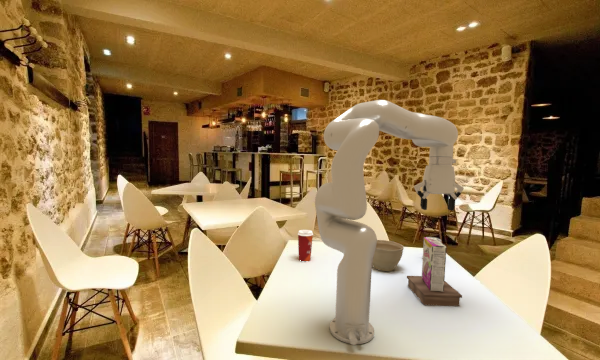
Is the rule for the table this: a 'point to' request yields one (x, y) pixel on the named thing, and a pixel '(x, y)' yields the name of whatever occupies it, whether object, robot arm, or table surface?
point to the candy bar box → (434, 264)
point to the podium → (433, 293)
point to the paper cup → (305, 244)
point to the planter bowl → (387, 255)
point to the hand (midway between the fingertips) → (437, 209)
